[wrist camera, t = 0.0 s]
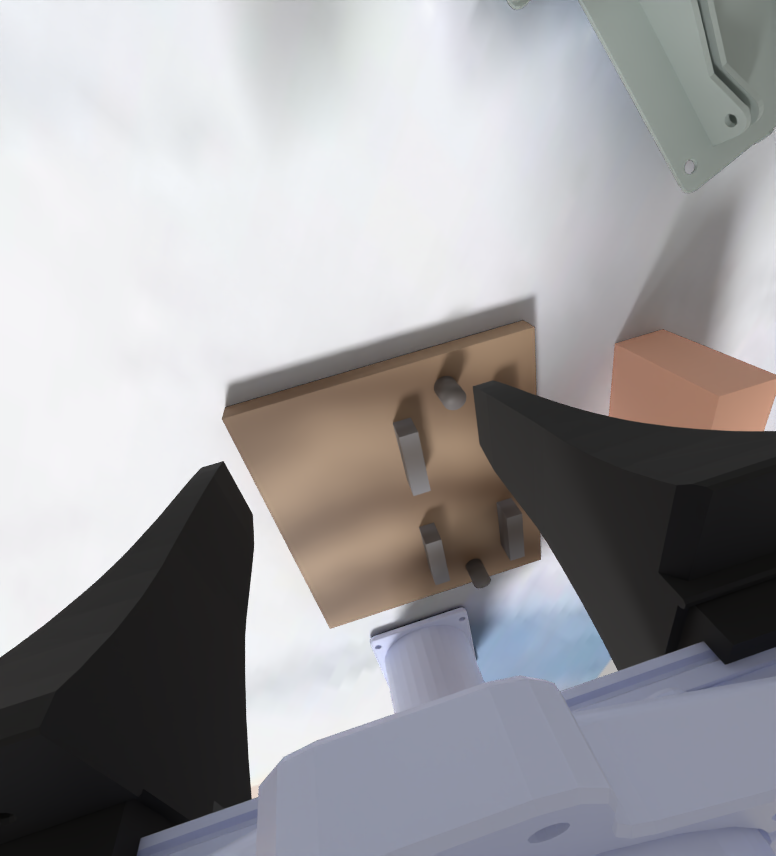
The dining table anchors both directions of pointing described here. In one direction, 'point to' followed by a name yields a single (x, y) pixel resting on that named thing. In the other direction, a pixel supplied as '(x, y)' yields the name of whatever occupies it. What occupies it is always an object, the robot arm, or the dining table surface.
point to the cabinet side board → (391, 475)
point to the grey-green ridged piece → (693, 74)
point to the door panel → (688, 385)
